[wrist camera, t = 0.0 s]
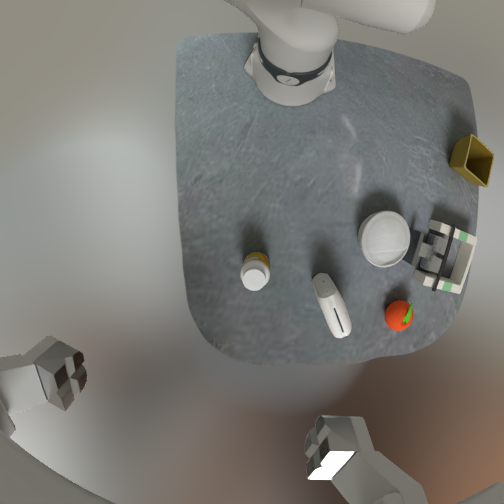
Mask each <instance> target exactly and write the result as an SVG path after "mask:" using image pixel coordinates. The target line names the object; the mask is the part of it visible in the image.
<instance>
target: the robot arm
mask: <svg viewBox="0 0 504 504" xmlns="http://www.w3.org/2000/svg"><path fill="white" fill-rule="evenodd" d="M224 1H226V2H228V3H230V4H231V5H233V6H235V7H236V8H238V9H239V10H240V11H242V12H243V13H245V14H246V15H247V16H248V17H249V18H250V19H251V20H252V21H253V22H254V23H255V24H256V25H257V27H258V31H259V33H258V38H259V40H258V42H257V43H255V44H254V46H253V48H254V49H253V51H252V53H251V55H250V56H249V58H248V60H247V62H246V64H245V66H244V70H245V71H246V72H247V73H248V74H249V75H250V76H251V77H252V78H253V79H254V80H255V82H256V85H257V87H258V88H259V90H260V91H261V92H262V94H263V95H264V96H266V97H267V98H268V99H270V100H271V101H273V102H275V103H278V104H281V105H286V106H299V105H304V104H307V103H309V102H311V101H313V100H314V99H316V98H317V97H318V96H319V95H321V94H322V93H326V92H330V91H332V90H334V89H335V85H336V84H335V66H334V53H333V47H334V45H335V43H336V41H337V39H338V36H339V24H338V21H337V19H336V17H335V16H337V17H340V18H343V19H347V20H350V21H353V22H355V23H358V24H361V25H365V26H369V27H374V28H379V29H382V30H387V31H391V32H396V33H400V34H408V33H411V32H413V31H416V30H418V29H420V28H421V27H422V26H424V25H425V24H426V23H427V22H428V21H429V20H430V18H431V16H432V14H433V12H434V9H435V3H436V0H224ZM330 80H331V81H330ZM83 362H84V355H83V353H82V352H80V351H78V350H76V349H74V348H73V347H71V346H69V345H67V344H65V343H63V342H61V341H59V340H58V339H56V338H54V337H52V336H47V337H46V338H44V339H43V340H42V341H41V342H39V343H38V344H37V345H36V346H35V347H33V348H32V349H31V350H29V351H28V352H27V353H26V354H25V355H23V356H22V355H21V354H19V355H13V356H7V357H1V358H0V504H115V503H113V502H111V501H109V500H106V499H104V498H102V497H100V496H98V495H96V494H94V493H92V492H90V491H88V490H86V489H84V488H82V487H81V486H79V485H77V484H75V483H73V482H72V481H70V480H68V479H67V478H65V477H63V476H62V475H60V474H58V473H57V472H55V471H54V470H52V469H51V468H49V467H48V466H46V465H45V464H43V463H42V462H40V461H39V460H37V459H36V458H35V457H33V456H32V455H31V454H29V453H28V452H27V451H25V450H24V449H23V448H21V447H20V446H19V445H18V444H17V443H15V442H14V441H13V440H12V439H10V438H9V437H10V436H11V435H12V434H13V432H14V431H15V430H16V429H15V425H14V423H13V422H12V420H11V418H10V416H13V415H16V414H18V413H21V412H24V411H26V410H29V409H32V408H34V407H37V406H39V405H42V404H44V403H47V401H48V402H50V403H52V404H54V405H55V406H57V407H59V408H61V409H62V410H64V411H66V410H67V409H68V407H69V406H70V405H71V404H72V402H73V401H74V394H78V393H80V392H81V391H82V390H83V388H84V387H85V384H86V381H87V372H86V369H85V368H84V366H83V365H82V363H83ZM315 425H316V427H315V428H313V429H311V430H310V432H309V434H308V435H307V438H306V442H305V454H306V455H307V456H308V457H309V458H310V459H309V461H308V462H307V463H306V468H307V478H308V479H331V481H332V483H333V484H334V485H335V486H336V488H337V489H338V490H339V491H340V493H341V494H342V495H343V496H344V498H345V499H346V500H347V501H348V502H349V504H428V502H427V499H426V497H425V494H424V491H423V488H422V486H421V485H420V484H419V483H417V482H416V481H415V480H414V479H412V478H411V477H410V476H408V475H407V474H406V473H405V472H403V471H402V470H401V469H399V468H398V467H397V466H396V465H395V464H393V463H392V462H391V461H390V460H388V459H387V458H386V457H385V456H384V455H382V454H381V453H380V452H378V451H374V448H373V445H372V442H371V439H370V436H369V433H368V430H367V427H366V424H365V421H364V419H363V418H362V417H346V416H325V415H320V416H319V417H318V418H317V420H316V422H315ZM455 504H504V483H503V482H497V483H495V484H493V485H491V486H489V487H487V488H485V489H483V490H482V491H480V492H478V493H476V494H474V495H472V496H470V497H468V498H466V499H464V500H462V501H460V502H457V503H455Z"/></svg>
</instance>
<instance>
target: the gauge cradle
mask: <svg viewBox="0 0 504 504" xmlns="http://www.w3.org/2000/svg"><path fill="white" fill-rule="evenodd" d="M428 228H430V229H433V230H435V231H438V232H441V233H443V234H446V235H448V236H450V232H451V228H452V227H451V226H449V225H446V224H444V223H441V222H438V221H434V220H431V219H430V223H429V227H428ZM453 237H454V238H456V239H458V240H461V244H460V248H459V251H458V255H457V258H456V261H455V264H454V267H453V270H452V273H451V276H450V279H449V278H445V277H442V276H441V278H440V280H439V283H438V286H437V289H441V290H445V291H449V292H454V293H458V294H460V292H461V289H462V287H463V284H464V281H465V278H466V276H467V273H468V270H469V267H470V264H471V260H472V257H473V254H474V250H475V247H476V243H477V239H478V238H476V237H474V236H472V235H470V234H468V233H465V232H463V231H461V230H458V229H456V228H455V232H454V236H453ZM436 277H437V275H434V274H431V273H427V272H424V271H420V270H415V273H414V276H413V278H414V279H416V280H417V281H418V282H420V283H421V284H422V285H426V286H430V287H433V286H434V283H435V280H436Z"/></svg>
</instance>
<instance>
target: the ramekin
mask: <svg viewBox="0 0 504 504" xmlns="http://www.w3.org/2000/svg"><path fill="white" fill-rule="evenodd" d="M358 241H359V245H360V247H361V250H362V253H363V255H364V257H365V258H366V259H367V260H368V261H369V262H370V263H371V264H373V265H375V266H377V267H390V266H393V265H395V264H396V263H398V262H399V261H400V260H401V259H402V258H403V257H404V255H405V254H406V252H407V250H408V247H409V244H410V230H409V227H408V225H407V223H406V221H405V219H404V218H403V217H402V216H401V215H399V214H398V213H396V212H393V211H380V212H377V213H374V214H371V215H369V216H368V217H367V218H366V219H365V220H364V221H363V222H362V224H361V226H360V228H359V232H358Z"/></svg>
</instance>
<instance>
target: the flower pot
mask: <svg viewBox="0 0 504 504" xmlns="http://www.w3.org/2000/svg"><path fill="white" fill-rule="evenodd" d="M493 159H494V154H493V152H492V151H490V150H489V149H488V148H487V147H486V146H485V145H484V144H483V143H482V142H481V141H480V140H479V139H478V138H477V137H476V136H474V135H473V134H470V135H468V136H465V137H463V138H461V139H460V140H458V141H457V143H456V144H455V146H454V148H453V151H452V156H451V159H450V163H449V166H450V167H451V168H452V169H453V170H454V171H456V172H457V173H458V174H460V175H461V176H462V177H463V178H464V179H466V180H467V181H469V182H470V183H472V184H475V185H479V186H484V187H488V183H489V178H490V173H491V169H492V164H493Z"/></svg>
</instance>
